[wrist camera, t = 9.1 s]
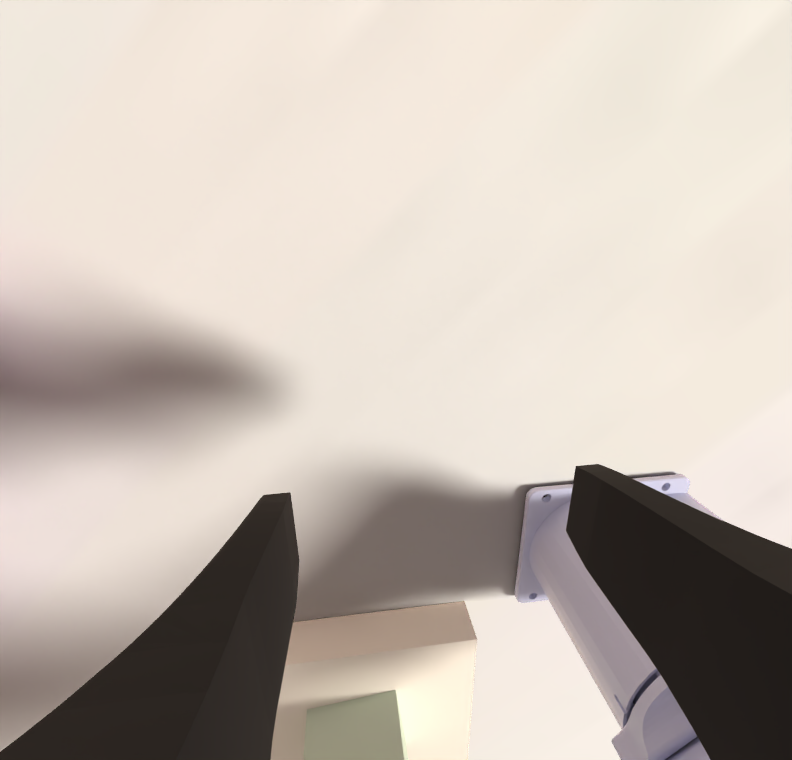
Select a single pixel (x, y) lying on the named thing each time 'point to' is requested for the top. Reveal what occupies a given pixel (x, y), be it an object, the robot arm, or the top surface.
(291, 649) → the cream block
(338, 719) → the sage cube
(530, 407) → the top surface
